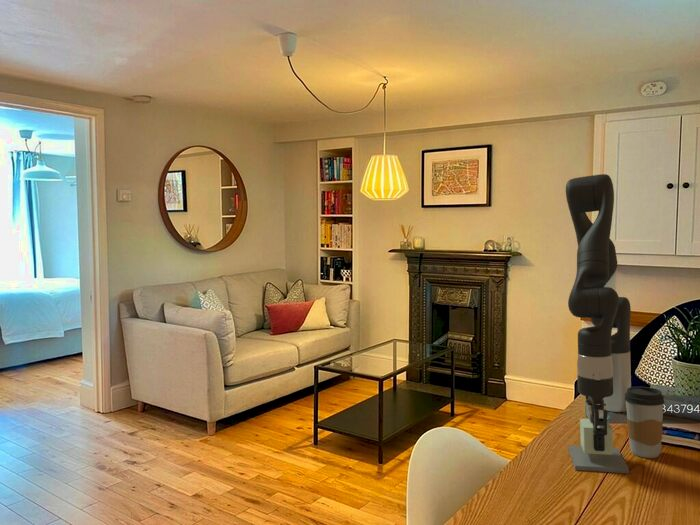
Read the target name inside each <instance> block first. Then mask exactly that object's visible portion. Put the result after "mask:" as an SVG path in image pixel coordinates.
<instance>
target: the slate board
mask: <svg viewBox="0 0 700 525" xmlns="http://www.w3.org/2000/svg"><path fill="white" fill-rule="evenodd" d="M568 452H569V456H570V458H571V462H572V464H573V468H574V470H575V471H583V472H584V471H586V472H601V473H604V472H605V473H615V474H616V473H617V474H618V473H620V474H630V469H629V468H630V467H629V466H628V465H627V462H626V461H625V459H624V458H623V456H622V454H621V452H620V451H619V448H618V447H613V455H607V454H589V453H584V451H583V448H582V446H581V445H568Z"/></svg>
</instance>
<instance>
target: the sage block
mask: <svg viewBox="0 0 700 525" xmlns="http://www.w3.org/2000/svg"><path fill="white" fill-rule="evenodd" d="M579 426H580V427H579V428H580V429H579V431H580V446H582V448H583V451H584V453H589V454H607V455H613V448H614V440H613V439H614V437H613V436H614V434H613V432H614V430H613V427H612V425H611V424H610V421H609V420H608V419H607V435H604V440H605V450H604V451H595V450H594V440H593V432H592V431H593V427H592V424H591V423H590V420H589V419H588V418H579ZM597 429H602V426H600V425H599V426H597Z"/></svg>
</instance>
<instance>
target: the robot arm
mask: <svg viewBox="0 0 700 525" xmlns="http://www.w3.org/2000/svg"><path fill="white" fill-rule="evenodd" d="M614 190H615V189H614V184H613V180H612V178H611V176H610V175H608V174H605V173H603V174H602V173H601V174H593V175H586V176H580V177H574V178H571V179H569V180H568V181H567V182H566V184H565V196H566V202H567V206H568V210H569V213H570V217H571V220H572V224H573V228H574V231H575V236H576V242H577V251H576V276H575V280H574V283H573V286H572V289H571V291H570V293H569V296H568V299H567V300H568V302H567V305H568V310H569V312H570V313H571V315H572V316H574V317H576V318H581V319H583V318H584V319H585V318H586V319H589V318H590V321H591V324H592V325H593V326H587V327H583V328H580V329H579V330H578V331H577V353H578V354H577V360H576V361H577V362H576V371H577V373H576V374H577V392H578V393H579V394H580V395H582V396H584V397H585V400H584V404H585V417H586V419H589V420H590V423H591V424H592V427H593V431H592V432H593V440H594V450H595V451H604V450H605V440H604V435H607V420H608V412H614V413H623V412H627V409H626V400H625V393H626V392H627V389H628V388H630V387H632V380H631V379H632V375H631V372H632V371H631V370H632V369H631V367H632V366H631V314H632V313H631V312H632V310H631V308H632V307H631V302H630V300H629V299H628V297H625V296H619V294H618V292H617V291H616V290H615V289H613V288H612V287H609V286H606V285H607V284H608V282H609V281H610V280H611V279H612V277H613V276H614V275H615V273H616V271H617V268H618V258H617V252H616V246H615V244H614V242H613V241H612V239H611V238H610V237H611V232H612V231H611V230H612V225H613V223H612V222H613V215H614V214H613V212H614V205H615V203H614V202H615V191H614ZM591 212H598V214H597V217H596V219H595V221H593V222H592V221H591V220H590V218H589V216H588V215H587V213H591ZM605 286H606V287H605ZM613 329H617V331H616V332H615V333H614V334H612V331H613ZM599 425H600V426H602V429H597V426H599Z"/></svg>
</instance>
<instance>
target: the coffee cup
mask: <svg viewBox="0 0 700 525" xmlns="http://www.w3.org/2000/svg"><path fill="white" fill-rule="evenodd" d="M664 399H665V398H664V395H663V393H662V391H661V390H660V389H657V388H654V387H650V386H649V387H647V386H631V387H630V388H628V389H627V392H626V393H625V400H626V409H627V411H626V423H627V431H628V432H627V433H628V434H627V435H628V439H629V449H630V451H631V453H632V454H633V455H635V456H637V457H641V458H645V459H655V458H658V457H659V456H660V455H661V452H662V440H663V424H664V420H663V418H664V416H663V415H664V404H665V400H664Z"/></svg>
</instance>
